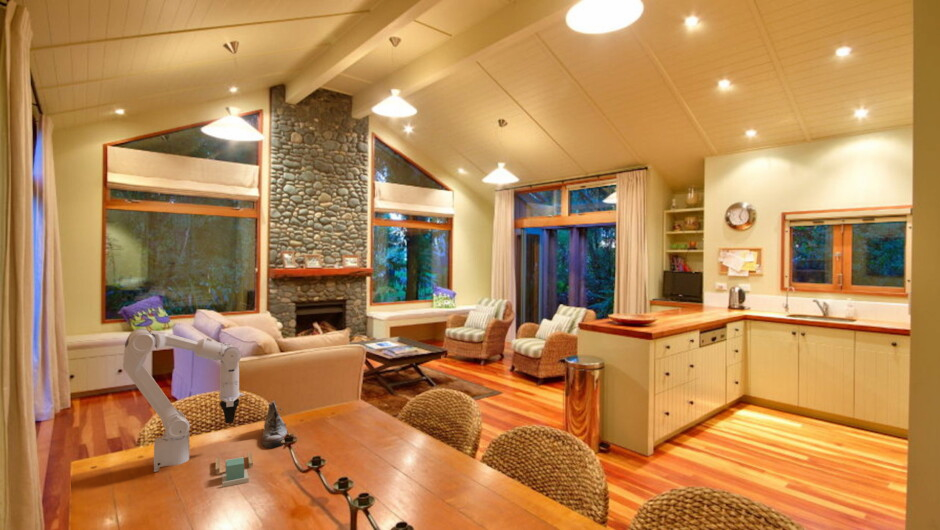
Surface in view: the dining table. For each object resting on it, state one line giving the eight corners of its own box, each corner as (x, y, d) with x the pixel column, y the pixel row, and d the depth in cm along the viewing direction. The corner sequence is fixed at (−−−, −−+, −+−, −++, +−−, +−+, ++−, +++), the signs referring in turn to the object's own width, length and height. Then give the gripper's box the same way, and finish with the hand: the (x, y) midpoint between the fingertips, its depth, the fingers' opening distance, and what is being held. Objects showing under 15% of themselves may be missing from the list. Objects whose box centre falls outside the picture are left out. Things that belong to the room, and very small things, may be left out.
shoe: (284, 451, 160) (284, 415, 160) (249, 454, 158) (249, 417, 158) (296, 425, 185) (296, 394, 184) (266, 427, 182) (266, 395, 182)
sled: (222, 489, 132) (222, 474, 132) (222, 473, 142) (222, 460, 142) (248, 484, 136) (248, 470, 135) (246, 469, 145) (246, 456, 145)
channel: (215, 477, 140) (215, 469, 140) (215, 465, 148) (215, 457, 148) (252, 470, 145) (252, 462, 145) (251, 459, 153) (251, 451, 153)
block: (226, 482, 135) (226, 466, 135) (226, 475, 139) (226, 460, 139) (244, 478, 137) (244, 463, 137) (243, 472, 141) (243, 457, 141)
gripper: (243, 385, 154) (243, 427, 154) (242, 375, 167) (242, 414, 167) (219, 388, 151) (219, 431, 151) (219, 377, 164) (219, 417, 164)
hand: (229, 422), depth 159 cm, fingers closed
